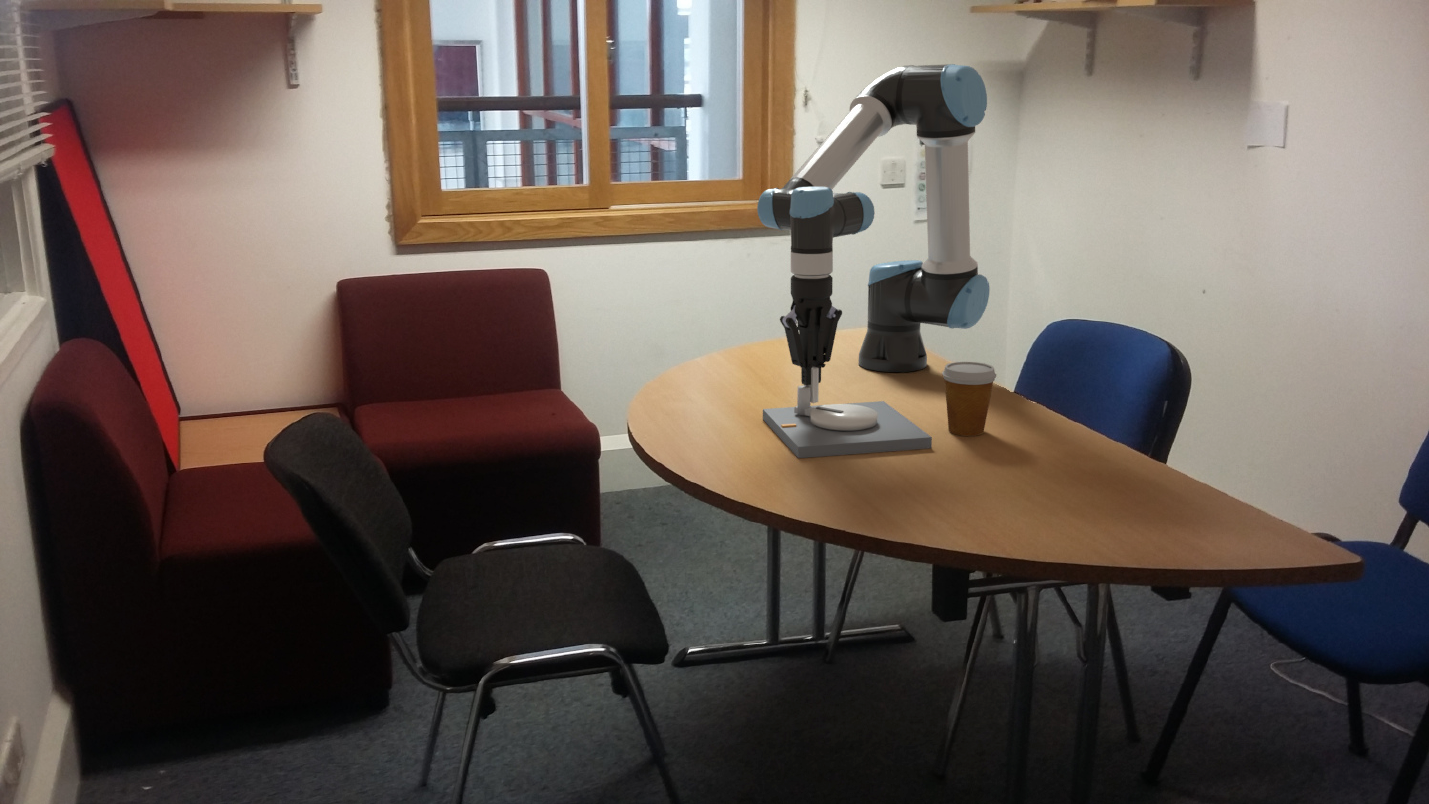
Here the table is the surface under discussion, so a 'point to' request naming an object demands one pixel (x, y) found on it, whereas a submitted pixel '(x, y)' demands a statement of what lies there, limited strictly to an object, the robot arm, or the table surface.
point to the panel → (846, 433)
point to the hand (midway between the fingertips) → (811, 400)
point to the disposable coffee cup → (968, 396)
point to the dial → (835, 413)
